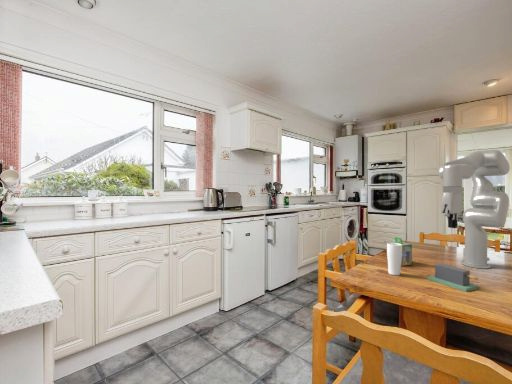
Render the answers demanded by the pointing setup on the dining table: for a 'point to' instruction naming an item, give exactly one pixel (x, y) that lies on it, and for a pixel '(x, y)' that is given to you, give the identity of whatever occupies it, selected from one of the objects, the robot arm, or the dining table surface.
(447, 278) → the block
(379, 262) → the dining table surface
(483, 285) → the dining table surface
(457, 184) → the robot arm
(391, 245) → the white cup
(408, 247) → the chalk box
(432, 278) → the header strip
